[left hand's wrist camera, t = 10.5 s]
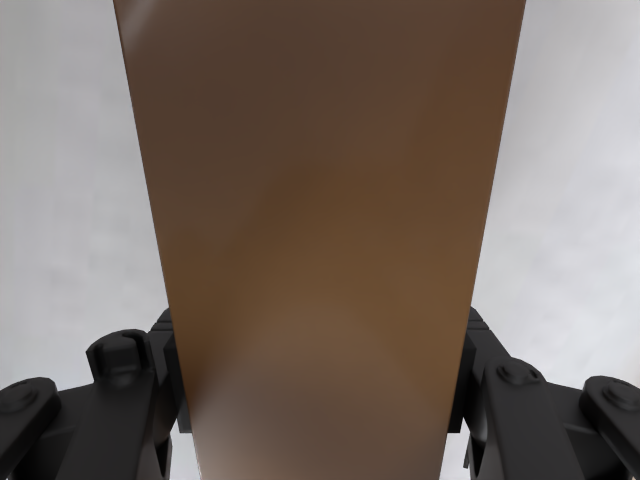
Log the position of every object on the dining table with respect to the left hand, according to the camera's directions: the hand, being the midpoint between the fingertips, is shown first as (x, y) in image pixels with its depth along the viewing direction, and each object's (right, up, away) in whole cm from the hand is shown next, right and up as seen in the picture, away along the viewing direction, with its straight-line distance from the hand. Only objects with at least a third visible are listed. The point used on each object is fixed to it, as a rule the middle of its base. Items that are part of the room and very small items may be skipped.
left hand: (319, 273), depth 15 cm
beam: (0, +20, -7) cm, 21 cm away
